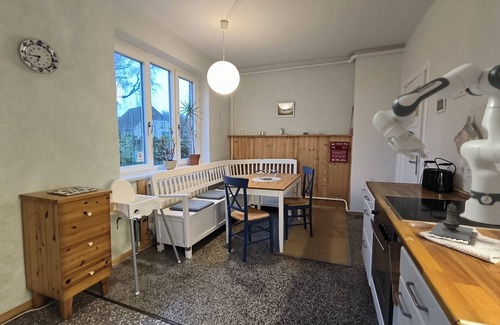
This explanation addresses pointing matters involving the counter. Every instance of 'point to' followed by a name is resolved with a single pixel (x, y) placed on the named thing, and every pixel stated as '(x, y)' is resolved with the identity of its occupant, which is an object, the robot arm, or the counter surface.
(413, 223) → the peach domed round part
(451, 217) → the black rounded upright piece
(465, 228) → the slate board
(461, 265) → the counter surface
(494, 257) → the counter surface
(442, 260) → the counter surface
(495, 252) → the counter surface
